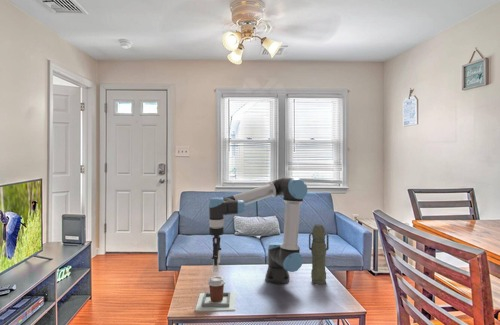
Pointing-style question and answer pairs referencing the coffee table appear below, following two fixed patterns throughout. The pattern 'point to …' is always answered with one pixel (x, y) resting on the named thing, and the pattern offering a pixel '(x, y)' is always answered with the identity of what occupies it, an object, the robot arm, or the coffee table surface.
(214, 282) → the coffee cup
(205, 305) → the square seat
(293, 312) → the coffee table surface
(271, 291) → the coffee table surface
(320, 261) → the thermos
